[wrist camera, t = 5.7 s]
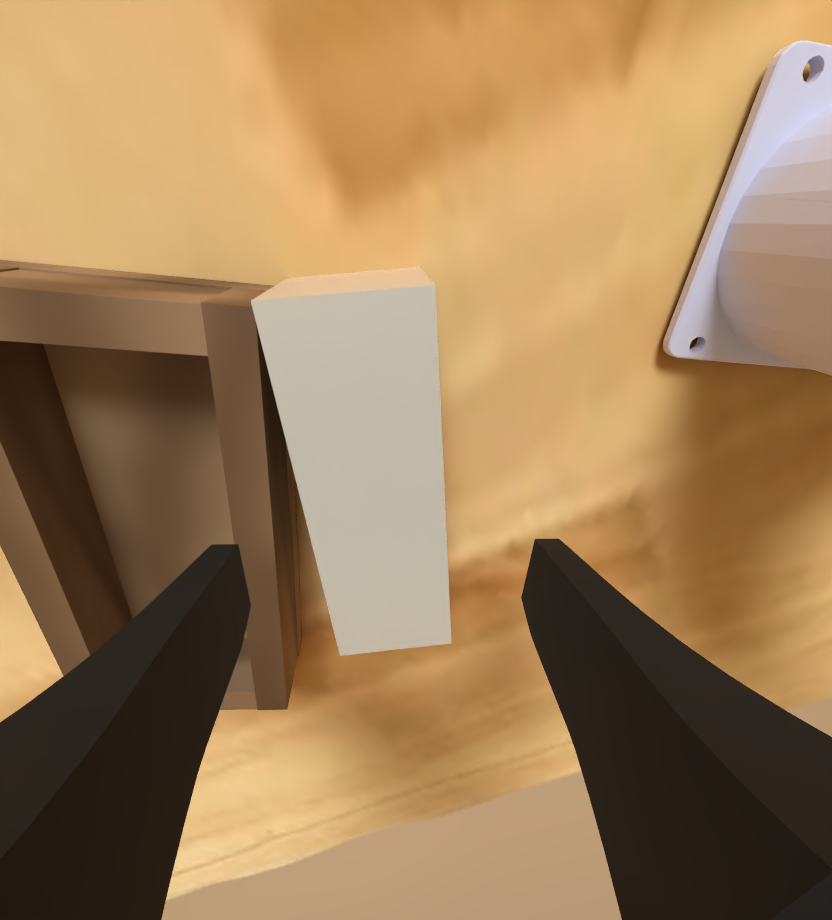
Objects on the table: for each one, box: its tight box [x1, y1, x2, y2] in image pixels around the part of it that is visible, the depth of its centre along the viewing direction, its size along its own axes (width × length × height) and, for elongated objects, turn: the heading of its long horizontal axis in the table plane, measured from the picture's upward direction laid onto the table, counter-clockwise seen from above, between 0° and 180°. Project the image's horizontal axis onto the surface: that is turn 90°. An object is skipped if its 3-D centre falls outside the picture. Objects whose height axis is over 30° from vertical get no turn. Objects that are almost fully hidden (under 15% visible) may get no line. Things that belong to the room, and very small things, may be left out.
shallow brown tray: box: [0, 260, 302, 710], centre depth 15 cm, size 8×16×4 cm, turn 175°
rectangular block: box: [251, 267, 451, 656], centre depth 14 cm, size 4×12×4 cm, turn 4°
